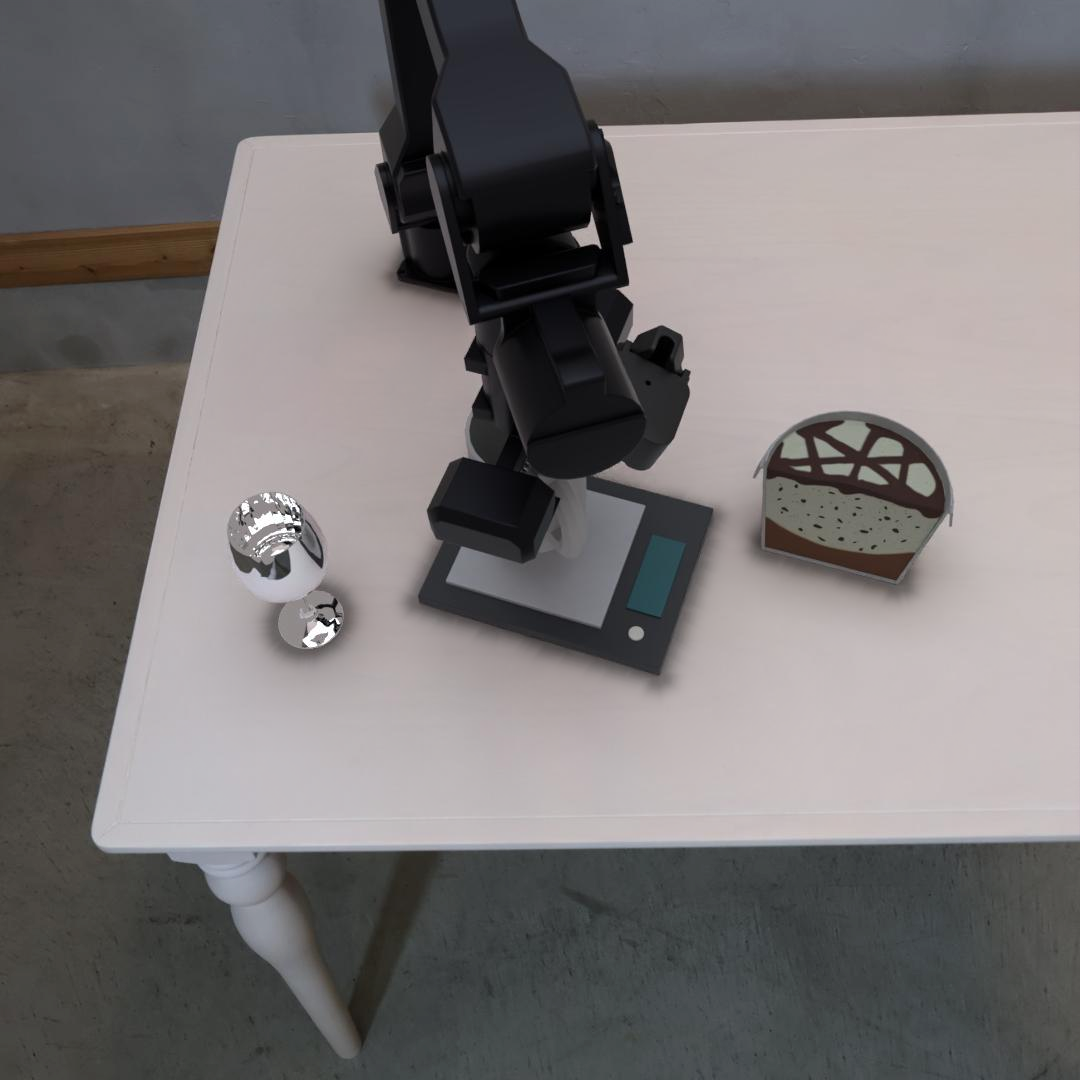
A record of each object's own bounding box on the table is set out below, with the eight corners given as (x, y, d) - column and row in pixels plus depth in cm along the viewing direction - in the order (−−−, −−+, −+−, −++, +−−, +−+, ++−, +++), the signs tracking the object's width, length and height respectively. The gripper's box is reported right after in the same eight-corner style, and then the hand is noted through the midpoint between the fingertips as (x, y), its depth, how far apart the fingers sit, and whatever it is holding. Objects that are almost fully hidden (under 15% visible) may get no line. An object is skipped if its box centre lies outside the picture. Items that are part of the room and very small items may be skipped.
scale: (419, 603, 77) (416, 593, 76) (488, 455, 83) (486, 444, 82) (659, 675, 73) (660, 666, 72) (712, 515, 79) (714, 504, 78)
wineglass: (286, 672, 74) (236, 582, 64) (257, 605, 77) (204, 508, 67) (366, 634, 76) (329, 540, 65) (334, 569, 78) (294, 469, 68)
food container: (935, 516, 78) (975, 429, 70) (920, 590, 75) (960, 508, 67) (760, 474, 81) (778, 384, 72) (739, 543, 78) (756, 458, 69)
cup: (551, 450, 77) (546, 364, 70) (630, 556, 73) (633, 476, 65) (459, 496, 76) (443, 413, 68) (533, 608, 71) (525, 532, 63)
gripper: (622, 507, 53) (618, 653, 66) (726, 234, 61) (704, 411, 75) (404, 447, 55) (443, 600, 68) (535, 193, 64) (546, 372, 77)
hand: (542, 491), depth 72 cm, fingers closed on cup, 7 cm apart
